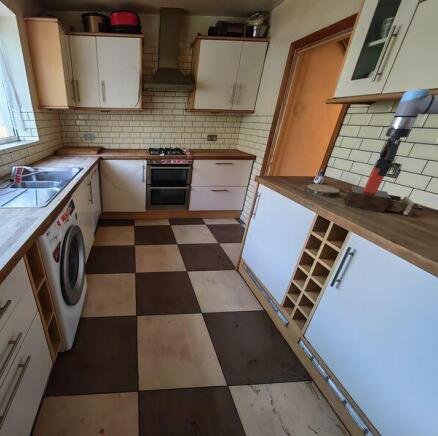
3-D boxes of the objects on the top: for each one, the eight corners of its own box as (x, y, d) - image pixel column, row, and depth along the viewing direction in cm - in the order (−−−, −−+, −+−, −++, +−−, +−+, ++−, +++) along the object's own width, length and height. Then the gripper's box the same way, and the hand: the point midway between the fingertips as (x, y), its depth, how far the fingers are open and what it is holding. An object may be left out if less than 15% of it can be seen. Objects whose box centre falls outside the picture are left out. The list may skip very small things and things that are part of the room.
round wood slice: (344, 197, 132) (346, 192, 131) (318, 197, 132) (320, 192, 130) (324, 188, 147) (325, 184, 145) (300, 188, 146) (302, 184, 145)
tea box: (374, 191, 119) (385, 168, 114) (375, 193, 116) (387, 170, 110) (363, 189, 121) (373, 167, 116) (364, 191, 118) (374, 168, 113)
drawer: (413, 209, 115) (420, 198, 113) (420, 217, 106) (427, 206, 104) (367, 201, 125) (372, 191, 122) (370, 207, 116) (375, 197, 113)
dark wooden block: (379, 204, 123) (386, 191, 119) (383, 212, 113) (391, 198, 110) (345, 198, 131) (351, 185, 127) (346, 205, 121) (352, 191, 117)
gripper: (384, 126, 116) (366, 167, 125) (393, 128, 98) (372, 176, 107) (405, 127, 112) (385, 169, 121) (418, 129, 94) (394, 179, 103)
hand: (379, 173), depth 114 cm, fingers open, 13 cm apart
